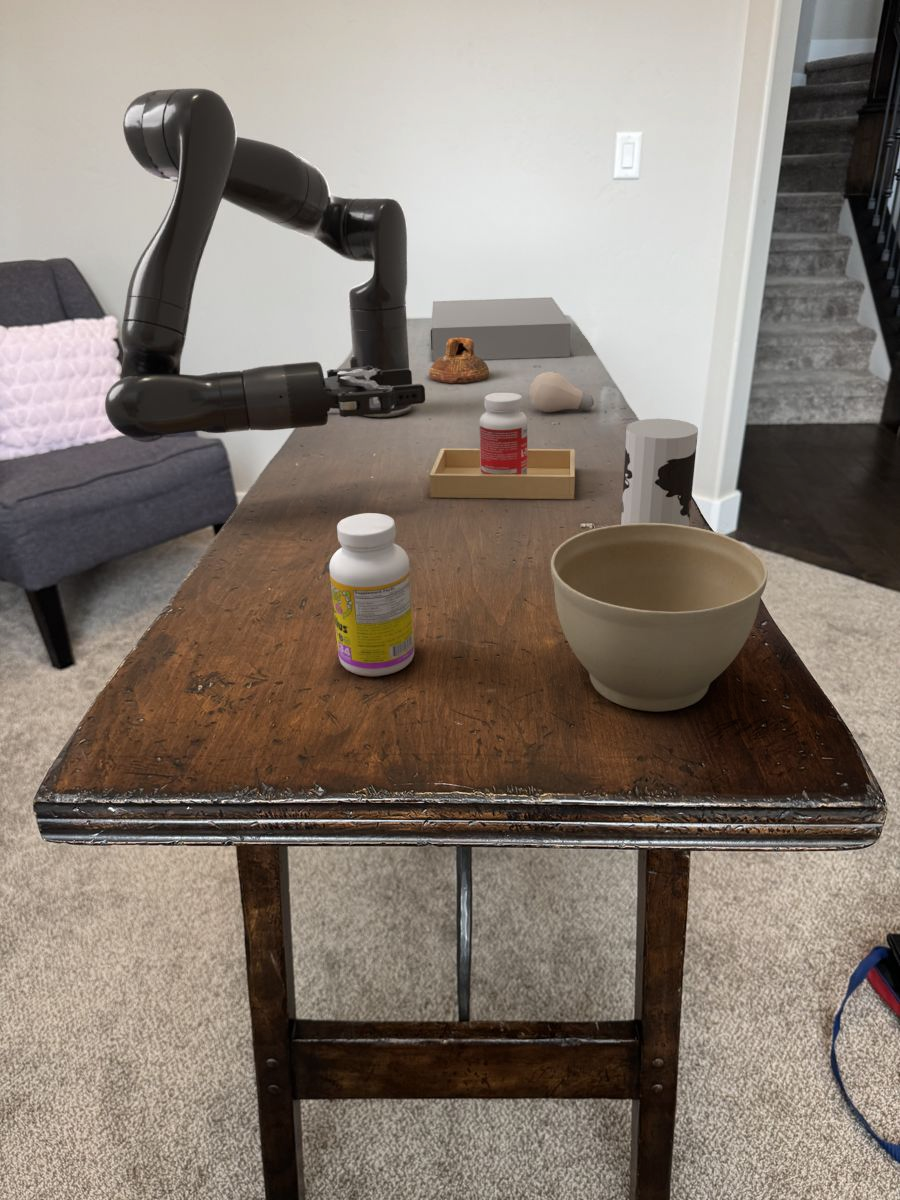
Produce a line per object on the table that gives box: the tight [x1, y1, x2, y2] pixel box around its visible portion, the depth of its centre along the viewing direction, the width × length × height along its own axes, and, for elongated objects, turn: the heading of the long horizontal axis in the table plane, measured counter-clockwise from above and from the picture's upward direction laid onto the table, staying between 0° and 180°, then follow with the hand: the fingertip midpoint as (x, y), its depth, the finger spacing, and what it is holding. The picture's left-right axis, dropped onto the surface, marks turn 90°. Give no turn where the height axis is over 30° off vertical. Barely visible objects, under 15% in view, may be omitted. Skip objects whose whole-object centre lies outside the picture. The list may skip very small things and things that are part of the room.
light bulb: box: [528, 371, 595, 413], centre depth 147 cm, size 7×7×11 cm
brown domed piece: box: [428, 338, 490, 384], centre depth 171 cm, size 12×12×7 cm
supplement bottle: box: [328, 512, 415, 677], centre depth 75 cm, size 7×7×13 cm
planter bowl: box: [550, 523, 769, 713], centre depth 71 cm, size 16×16×11 cm
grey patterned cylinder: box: [620, 418, 699, 527], centre depth 89 cm, size 7×7×15 cm
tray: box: [429, 447, 576, 500], centre depth 117 cm, size 18×11×3 cm, turn 83°
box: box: [430, 296, 572, 362], centre depth 200 cm, size 35×29×7 cm
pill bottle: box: [478, 392, 528, 475], centre depth 114 cm, size 6×6×11 cm
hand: (417, 384), depth 109 cm, fingers open, 8 cm apart
